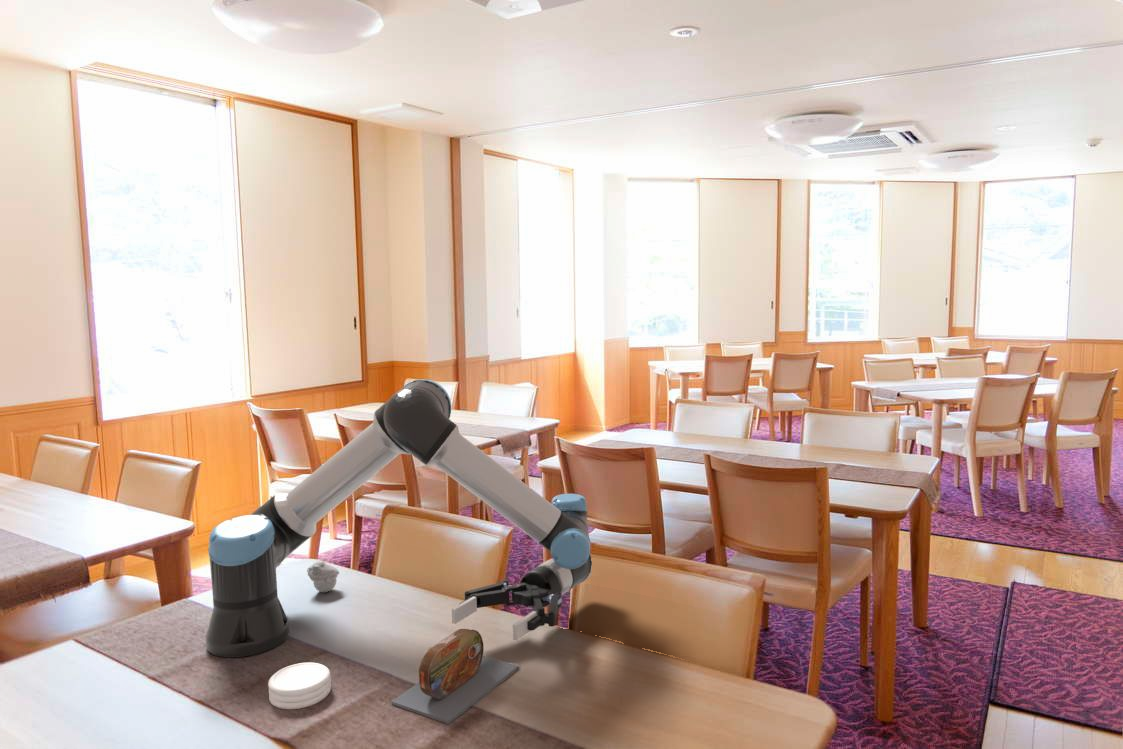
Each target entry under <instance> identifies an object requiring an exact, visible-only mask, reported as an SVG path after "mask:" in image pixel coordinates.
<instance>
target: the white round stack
mask: <svg viewBox="0 0 1123 749" xmlns="http://www.w3.org/2000/svg"><path fill="white" fill-rule="evenodd" d="M331 680H332V679H331V671H330V669H329V668H328V667H327V666H325V665H324V664H321V663H318V662H299V663H294V664H291V665H287V666H285V667H283V668H280V669H279V670H278V671H276V672H275V673H273V674H272V676H270V678H269V679H268V683H267V687H268V695H269V696H268V699H269V702H270V704H271V705H272V706H274V707H276V708H279V709H282V710H299V709H304V708H307V707H311V706H314V705H316V704H318V703H319V702H321V701H323V700H324V699H325V698H327V696H328V695H329V694H330V692H331V690H332V684H331V683H332V682H331Z"/></svg>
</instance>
